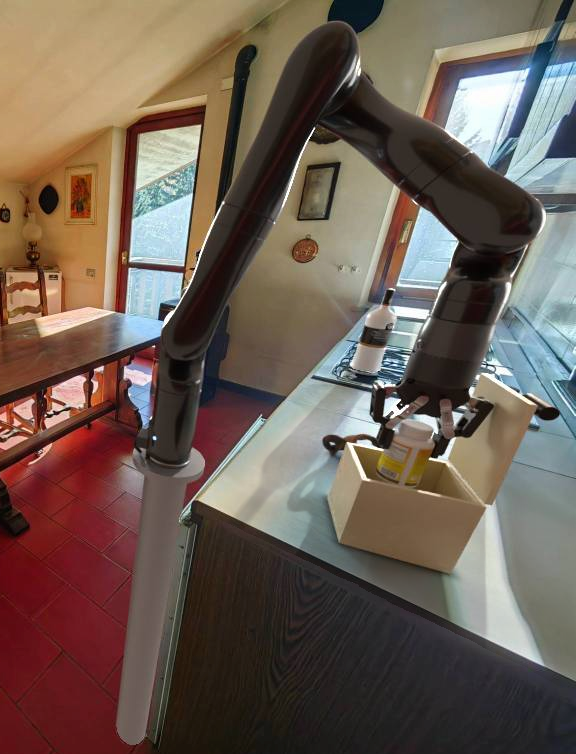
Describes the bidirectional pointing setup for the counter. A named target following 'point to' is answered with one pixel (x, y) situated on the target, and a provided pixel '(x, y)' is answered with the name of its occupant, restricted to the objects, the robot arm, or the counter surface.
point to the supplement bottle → (406, 454)
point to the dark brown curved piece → (341, 442)
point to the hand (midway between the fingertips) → (406, 450)
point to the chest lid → (496, 436)
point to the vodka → (375, 337)
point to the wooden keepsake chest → (403, 511)
